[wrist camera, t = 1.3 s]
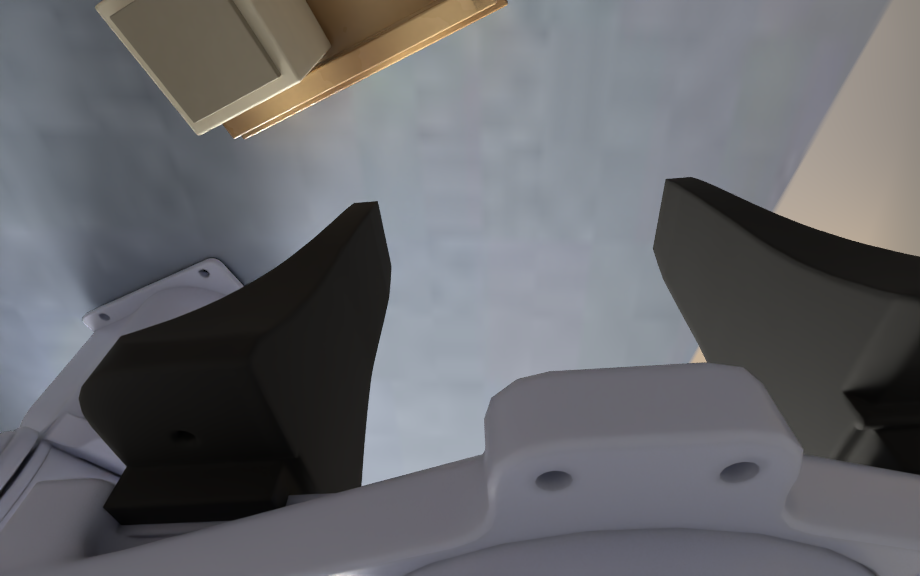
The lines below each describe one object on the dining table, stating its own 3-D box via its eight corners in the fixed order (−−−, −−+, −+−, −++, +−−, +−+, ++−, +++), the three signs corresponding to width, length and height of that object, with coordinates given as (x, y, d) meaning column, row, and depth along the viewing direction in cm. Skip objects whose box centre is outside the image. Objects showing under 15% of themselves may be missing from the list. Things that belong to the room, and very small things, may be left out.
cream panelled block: (246, 93, 19) (193, 141, 15) (168, -16, 17) (85, 9, 13) (332, 46, 18) (299, 85, 14) (262, -77, 16) (200, -69, 12)
